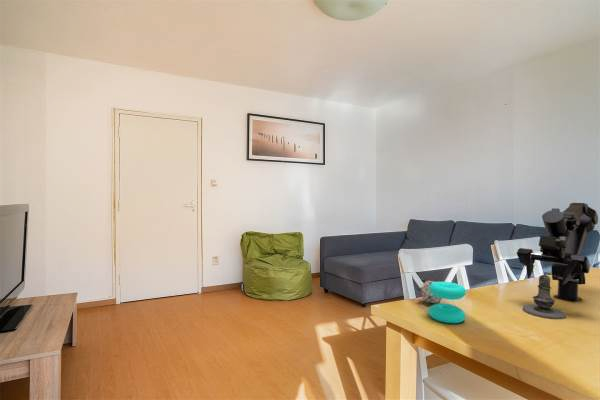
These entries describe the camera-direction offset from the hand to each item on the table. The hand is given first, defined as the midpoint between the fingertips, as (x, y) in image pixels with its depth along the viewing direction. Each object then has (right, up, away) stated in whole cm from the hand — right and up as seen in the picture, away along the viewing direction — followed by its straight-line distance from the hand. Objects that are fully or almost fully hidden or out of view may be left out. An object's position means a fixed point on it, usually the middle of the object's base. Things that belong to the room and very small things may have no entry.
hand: (544, 280), depth 108 cm
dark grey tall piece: (-1, -9, 0) cm, 10 cm away
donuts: (-34, -10, -7) cm, 36 cm away
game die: (-33, -9, +7) cm, 35 cm away
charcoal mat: (-1, -10, 0) cm, 10 cm away
